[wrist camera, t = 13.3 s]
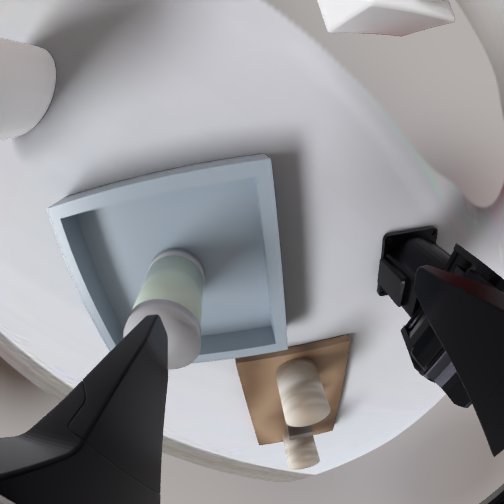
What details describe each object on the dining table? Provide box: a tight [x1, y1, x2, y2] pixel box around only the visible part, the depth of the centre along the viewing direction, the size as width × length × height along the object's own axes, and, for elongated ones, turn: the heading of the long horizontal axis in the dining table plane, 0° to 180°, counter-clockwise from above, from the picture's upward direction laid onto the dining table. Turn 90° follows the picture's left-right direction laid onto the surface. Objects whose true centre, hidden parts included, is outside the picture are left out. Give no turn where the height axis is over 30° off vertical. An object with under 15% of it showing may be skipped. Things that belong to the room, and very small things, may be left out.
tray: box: [47, 154, 288, 363], centre depth 21 cm, size 16×16×3 cm
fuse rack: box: [235, 335, 350, 470], centre depth 29 cm, size 12×22×7 cm, turn 7°
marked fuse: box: [123, 248, 205, 369], centre depth 18 cm, size 4×4×8 cm
